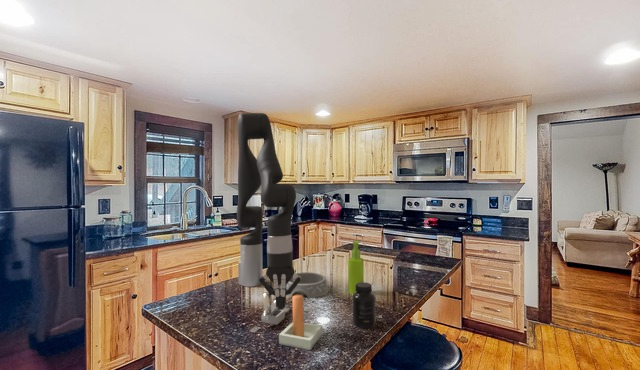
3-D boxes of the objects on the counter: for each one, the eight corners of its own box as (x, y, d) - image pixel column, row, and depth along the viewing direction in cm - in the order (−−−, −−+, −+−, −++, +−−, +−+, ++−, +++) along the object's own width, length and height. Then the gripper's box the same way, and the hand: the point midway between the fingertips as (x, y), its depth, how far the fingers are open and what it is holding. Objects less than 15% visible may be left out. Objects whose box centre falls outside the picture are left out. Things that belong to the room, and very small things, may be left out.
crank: (275, 304, 107) (274, 280, 107) (286, 305, 106) (286, 280, 106) (258, 323, 92) (258, 295, 92) (271, 324, 91) (271, 296, 91)
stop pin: (291, 338, 84) (290, 297, 84) (296, 333, 87) (295, 294, 87) (301, 340, 83) (300, 299, 83) (305, 335, 86) (305, 295, 86)
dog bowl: (323, 300, 115) (323, 285, 115) (276, 296, 118) (276, 282, 118) (331, 285, 131) (331, 273, 131) (290, 283, 135) (290, 270, 135)
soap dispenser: (366, 290, 124) (366, 240, 124) (361, 295, 118) (360, 243, 118) (352, 288, 127) (352, 239, 127) (346, 293, 121) (346, 242, 121)
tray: (278, 344, 82) (278, 334, 82) (293, 329, 91) (293, 320, 91) (310, 350, 79) (310, 340, 79) (322, 334, 88) (322, 325, 88)
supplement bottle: (350, 319, 97) (350, 281, 97) (372, 318, 98) (371, 280, 98) (355, 329, 90) (354, 288, 90) (378, 328, 91) (377, 287, 91)
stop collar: (261, 322, 96) (261, 314, 96) (270, 315, 101) (270, 308, 101) (276, 324, 94) (276, 317, 94) (284, 317, 99) (284, 310, 99)
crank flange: (241, 329, 91) (241, 326, 91) (274, 305, 109) (274, 302, 109) (262, 333, 88) (262, 330, 88) (292, 308, 106) (292, 305, 106)
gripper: (254, 253, 90) (256, 313, 89) (300, 252, 89) (302, 312, 89) (260, 248, 97) (261, 304, 97) (302, 247, 97) (304, 303, 96)
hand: (281, 308), depth 93 cm, fingers closed
